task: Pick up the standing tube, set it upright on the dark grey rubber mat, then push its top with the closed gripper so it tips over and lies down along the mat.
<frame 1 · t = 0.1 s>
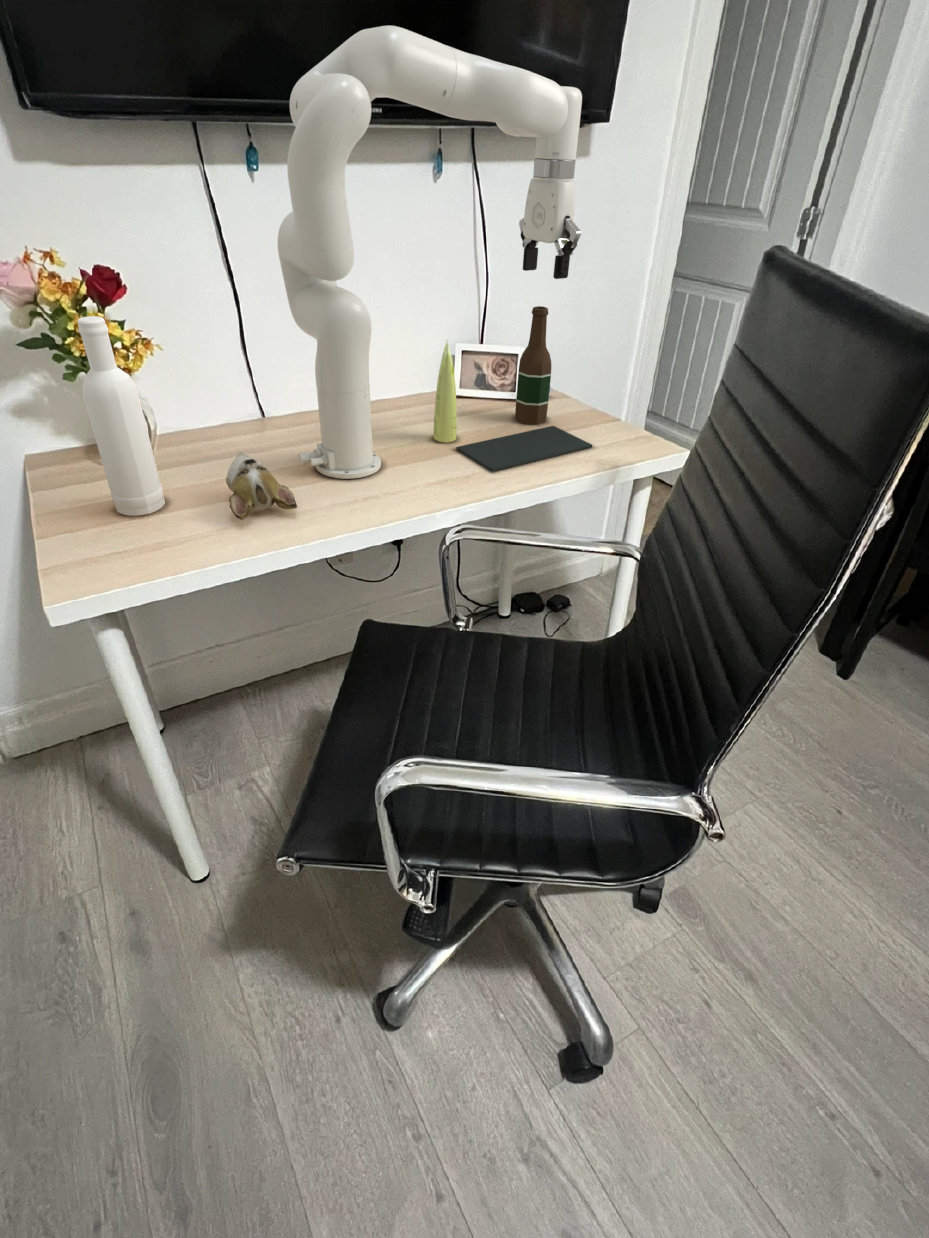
hand: (544, 274, 136), 31 cm above the table, tool pointing down, fingers open, 9 cm apart
beer bottle: (530, 420, 158), on the table
mat: (525, 448, 144), on the table
bottle: (141, 507, 117), on the table
decorative dice: (538, 397, 172), on the table
ceramic sculpture: (258, 507, 118), on the table
tube: (444, 440, 147), on the table
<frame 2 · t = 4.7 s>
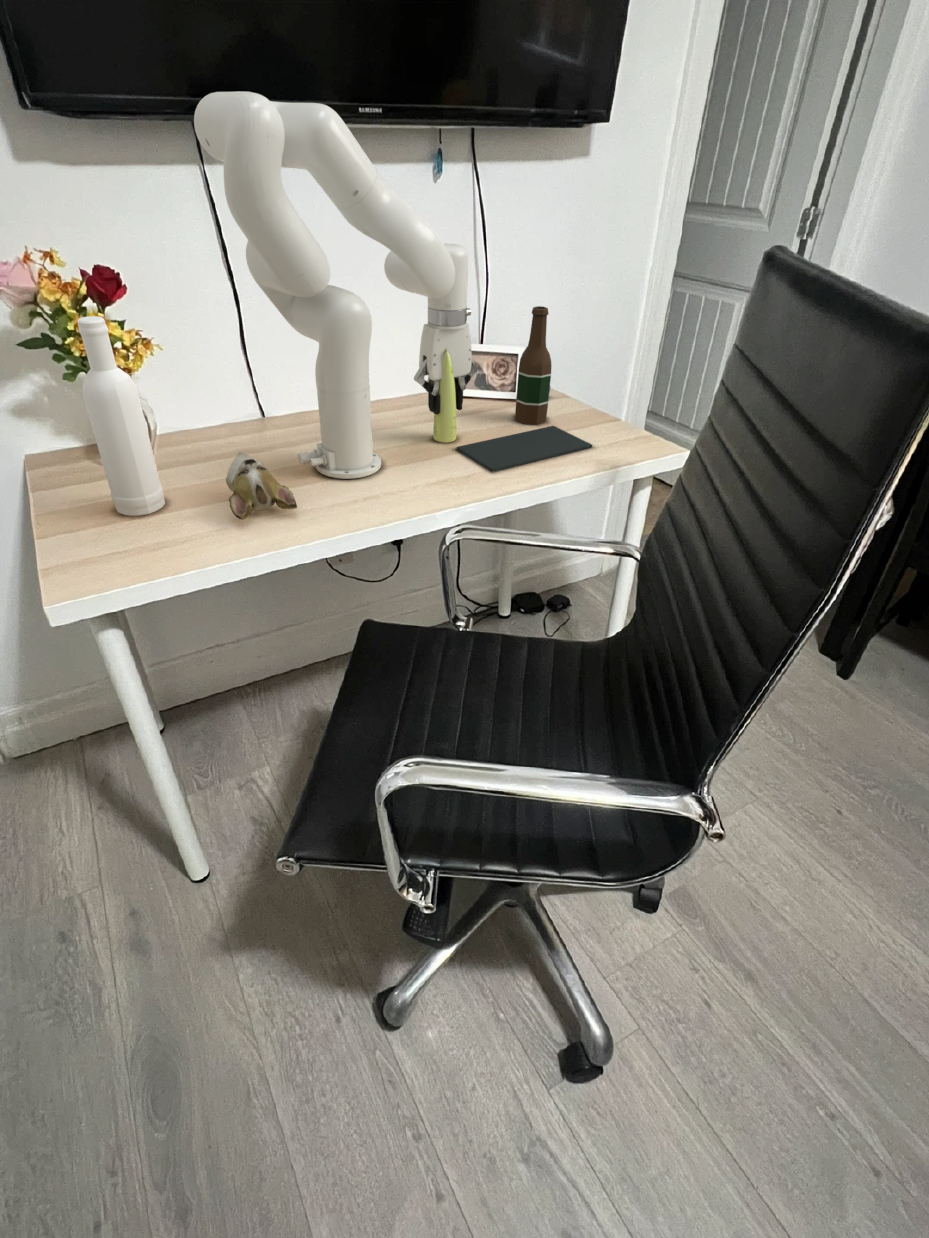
hand: (445, 409, 143), 6 cm above the table, tool pointing down, fingers closed on tube, 4 cm apart
tube: (444, 440, 147), on the table, touching gripper
everything else where it was.
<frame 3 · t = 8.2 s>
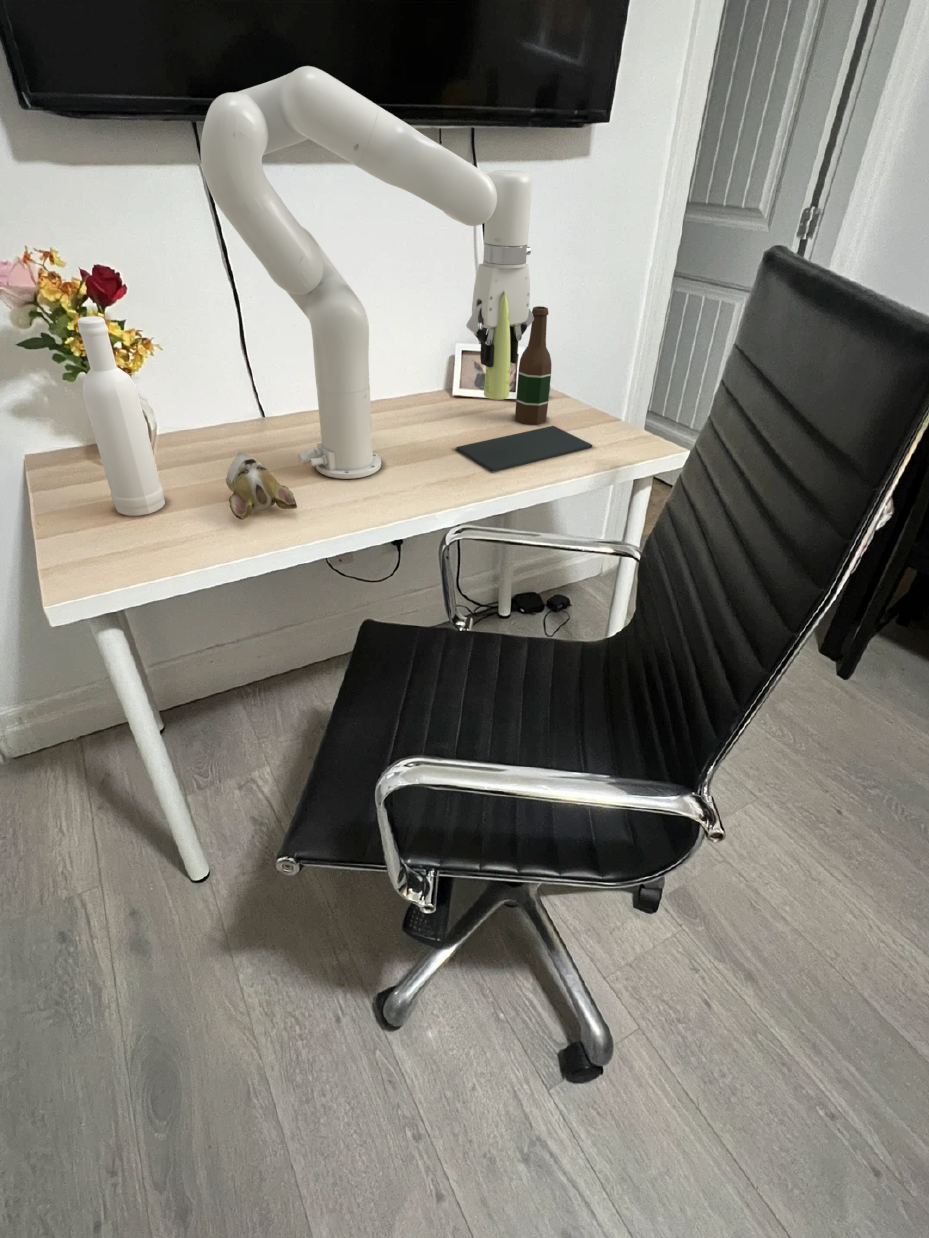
hand: (498, 362, 129), 18 cm above the table, tool pointing down, fingers closed on tube, 4 cm apart
tube: (496, 397, 133), point 12 cm above the table, touching gripper
everything else where it was.
when the fingers open (7 cm above the table, at t = 11.6 s): tube stays where it is, resting on mat.
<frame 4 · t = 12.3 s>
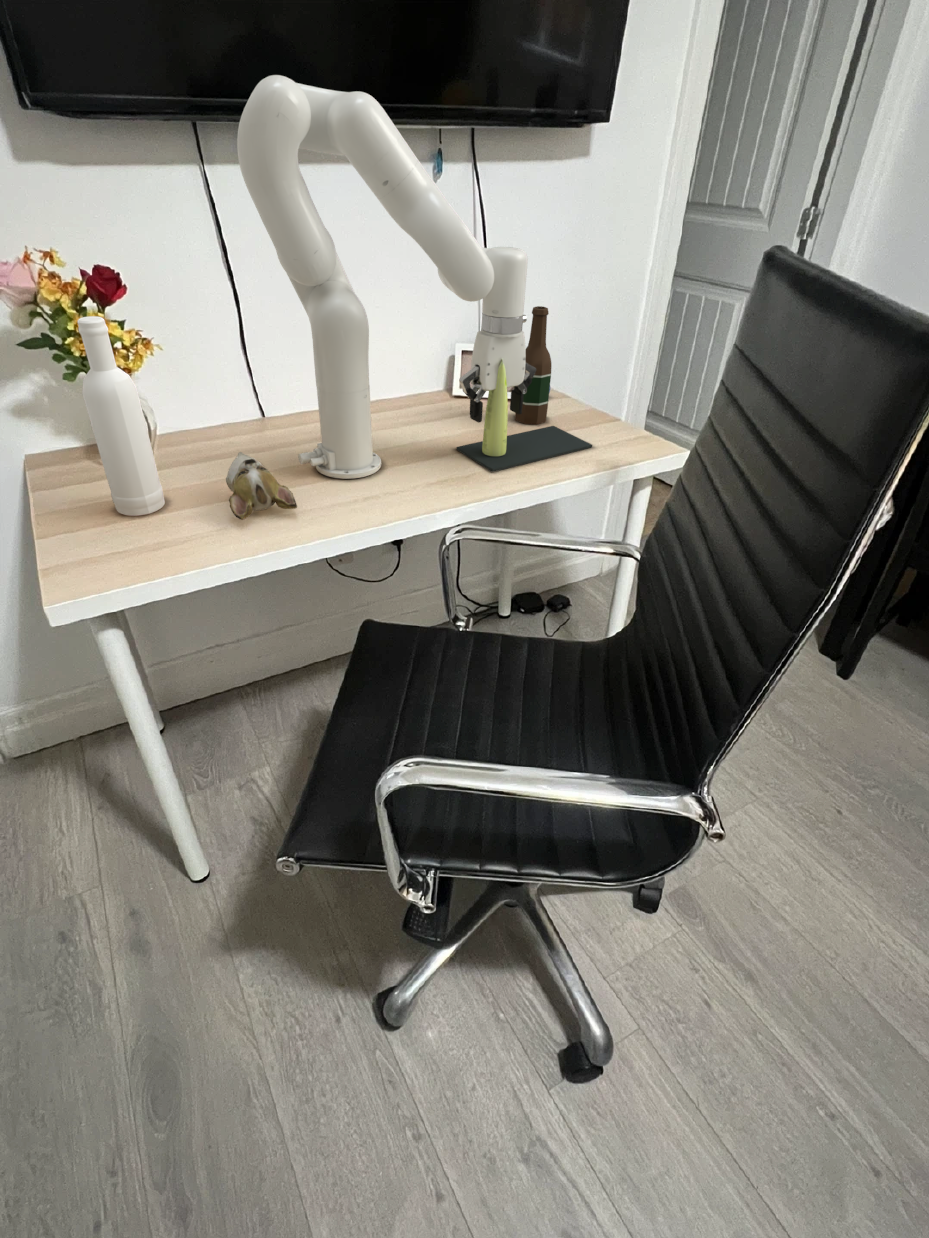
hand: (496, 416, 135), 8 cm above the table, tool pointing down, fingers open, 9 cm apart
tube: (493, 454, 140), resting on mat
everything else where it was.
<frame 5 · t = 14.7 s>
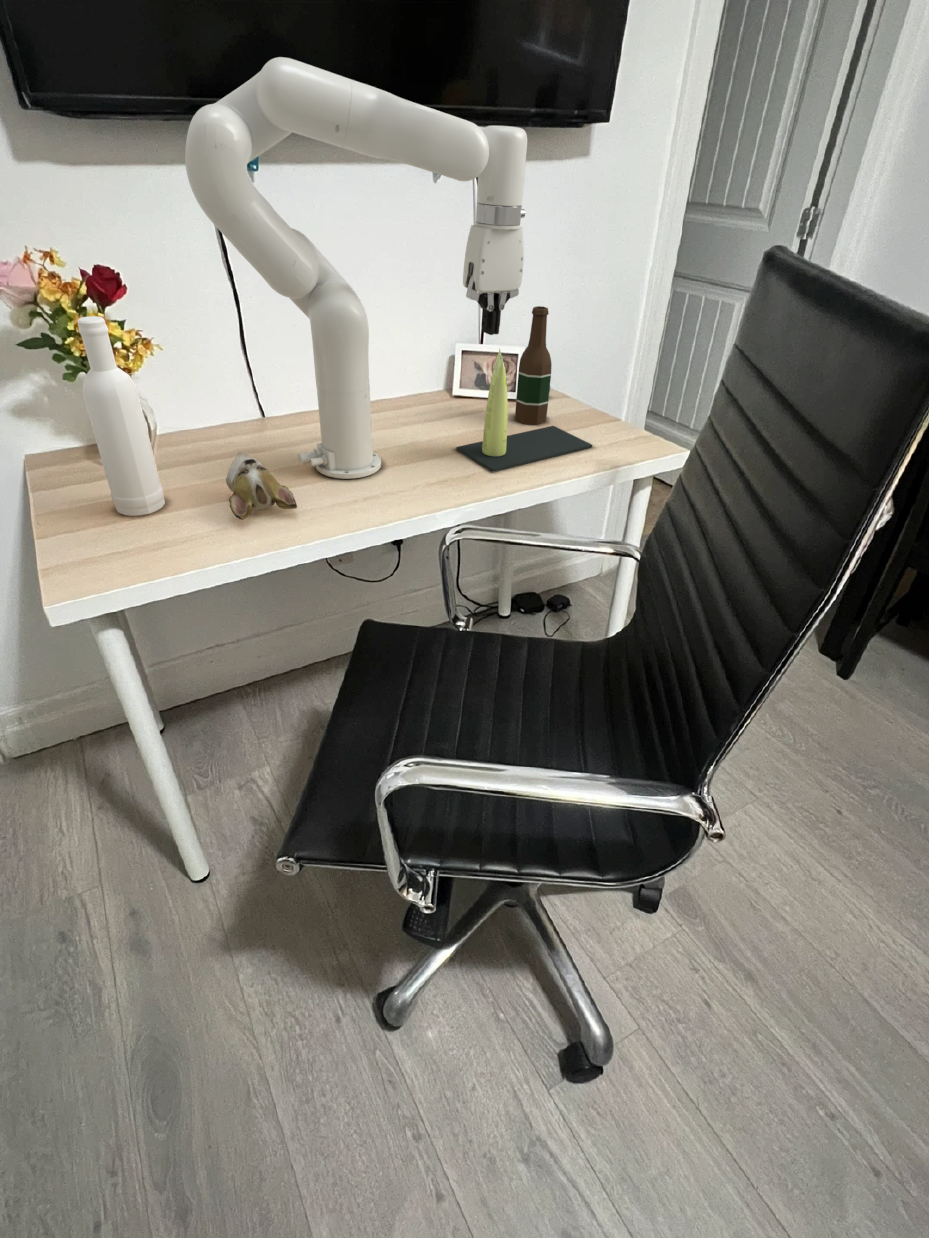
hand: (490, 332, 125), 24 cm above the table, tool pointing down, fingers closed
nothing on the table moved.
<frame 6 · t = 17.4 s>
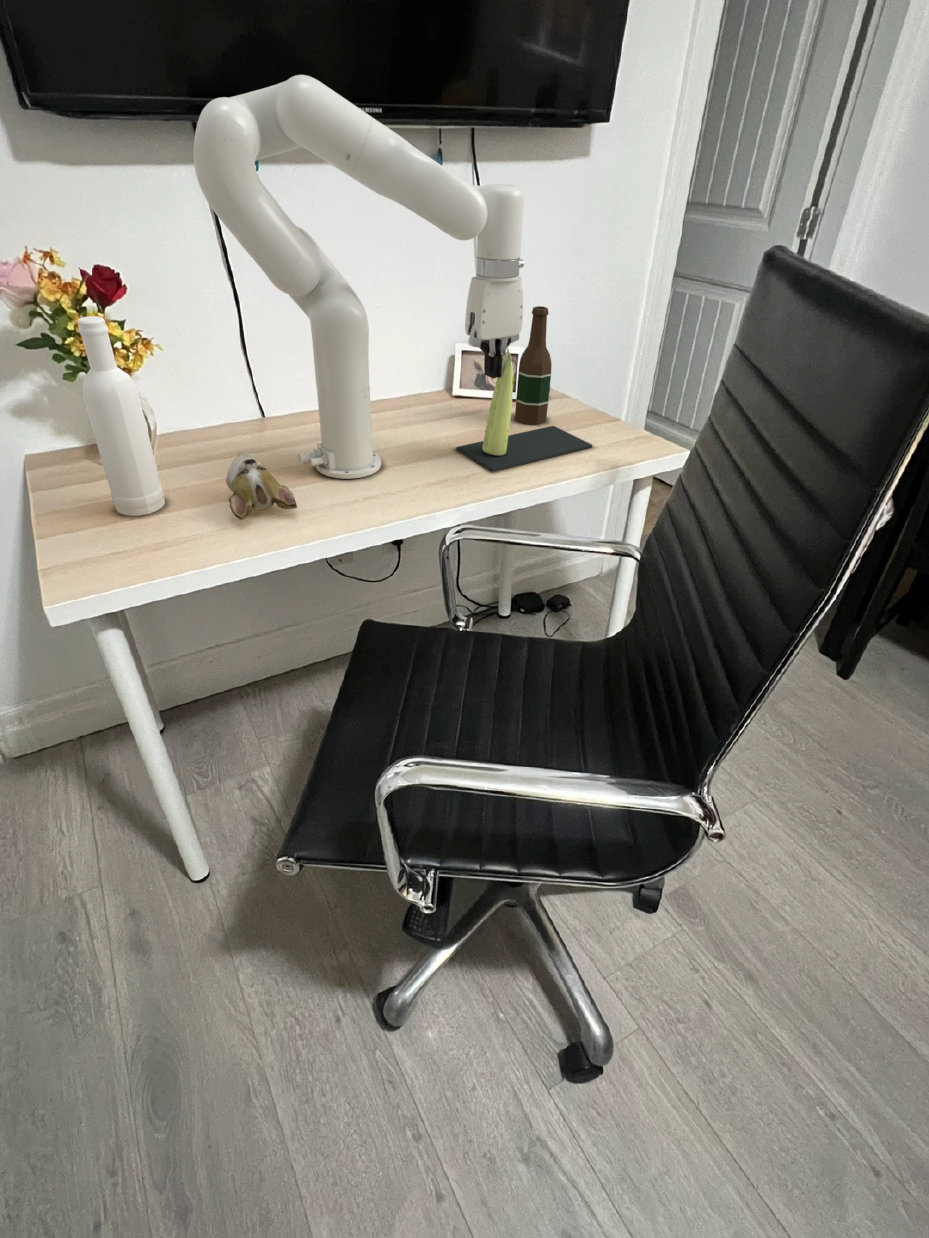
hand: (492, 376, 130), 16 cm above the table, tool pointing down, fingers closed
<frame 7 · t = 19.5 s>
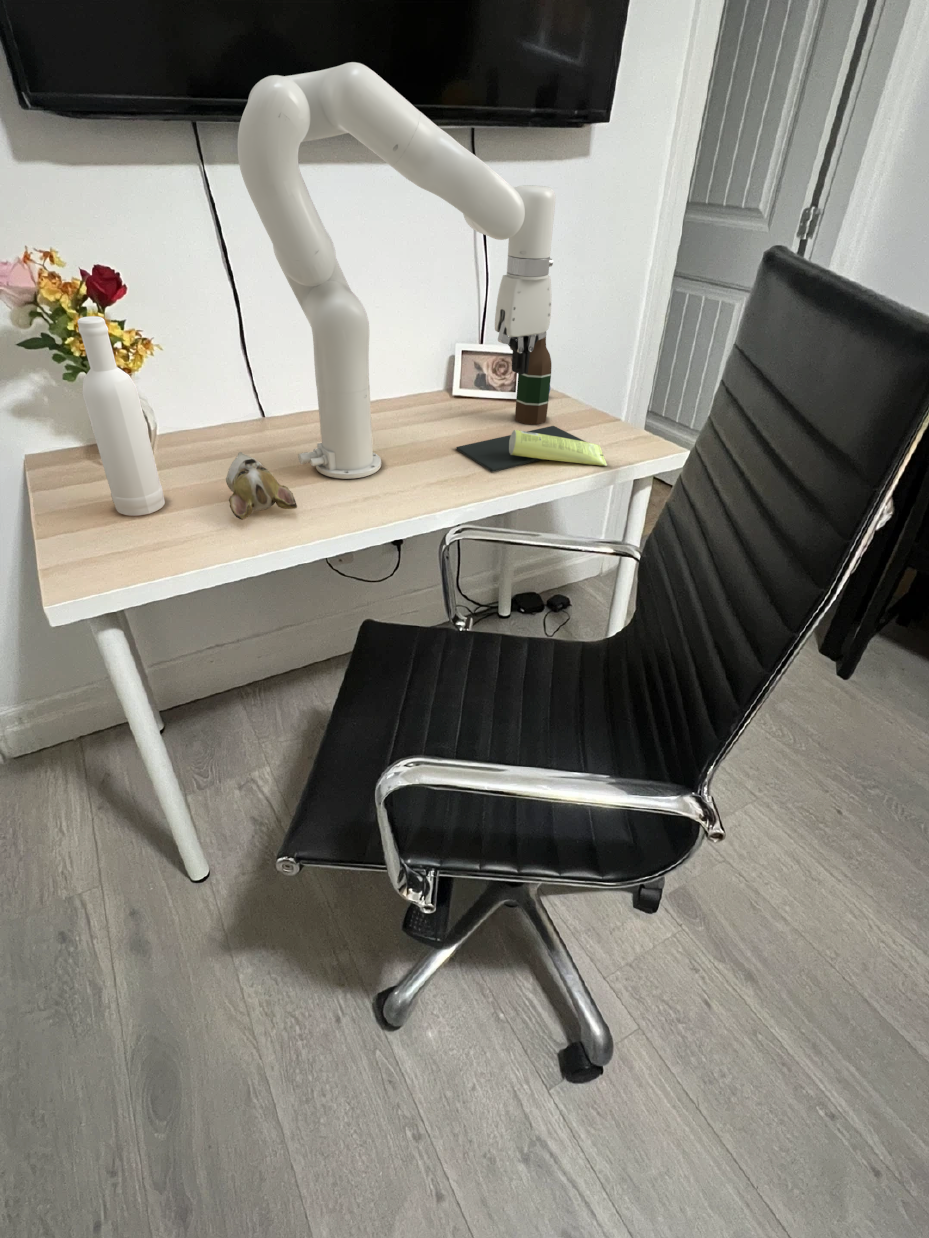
hand: (519, 372, 133), 16 cm above the table, tool pointing down, fingers closed
tube: (510, 442, 136), point 4 cm above the table, touching mat
everything else where it was.
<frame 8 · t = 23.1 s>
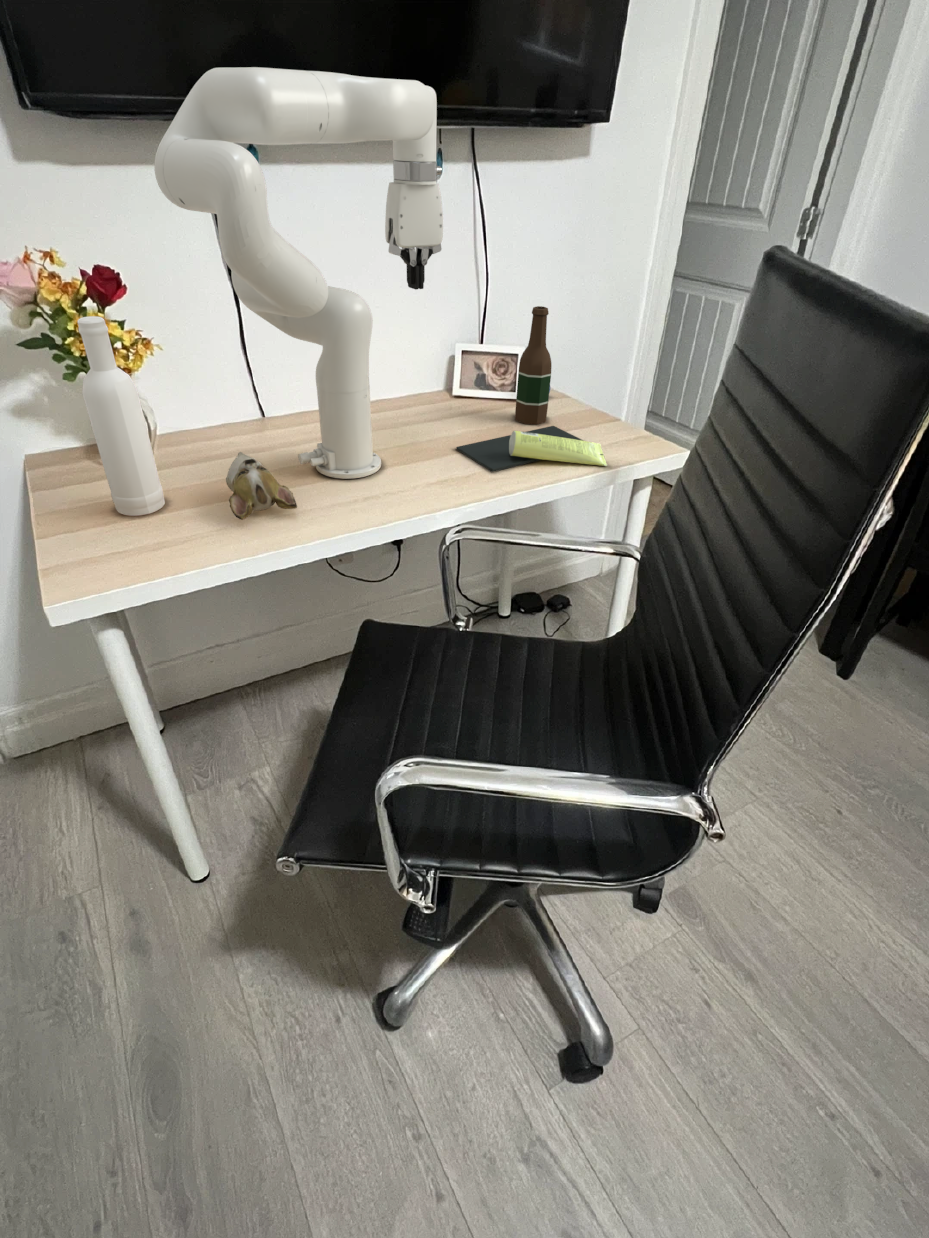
hand: (415, 287, 131), 29 cm above the table, tool pointing down, fingers closed
nothing on the table moved.
at the end: tube tilted 97°; tube touching mat, table; tube inside the target area on the mat (9.2 cm from its centre), point 3.7 cm above the mat's base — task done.
